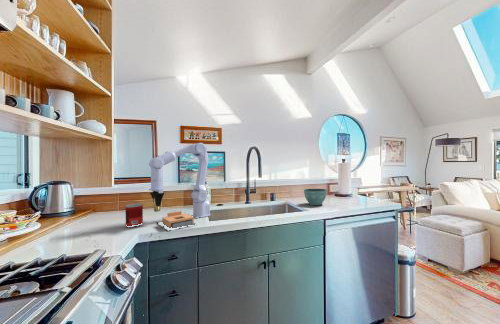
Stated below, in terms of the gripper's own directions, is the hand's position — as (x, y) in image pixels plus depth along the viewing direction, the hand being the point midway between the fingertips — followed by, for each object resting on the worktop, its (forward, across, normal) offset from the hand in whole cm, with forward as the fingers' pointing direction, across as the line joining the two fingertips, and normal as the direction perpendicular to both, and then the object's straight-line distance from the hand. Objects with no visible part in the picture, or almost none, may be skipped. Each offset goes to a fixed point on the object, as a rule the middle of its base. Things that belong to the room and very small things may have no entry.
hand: (157, 205), depth 113 cm
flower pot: (+10, +27, +103) cm, 107 cm away
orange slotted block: (+9, +11, +7) cm, 15 cm away
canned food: (+10, -6, -10) cm, 15 cm away
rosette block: (+10, +8, +7) cm, 15 cm away
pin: (+3, 0, 0) cm, 3 cm away
